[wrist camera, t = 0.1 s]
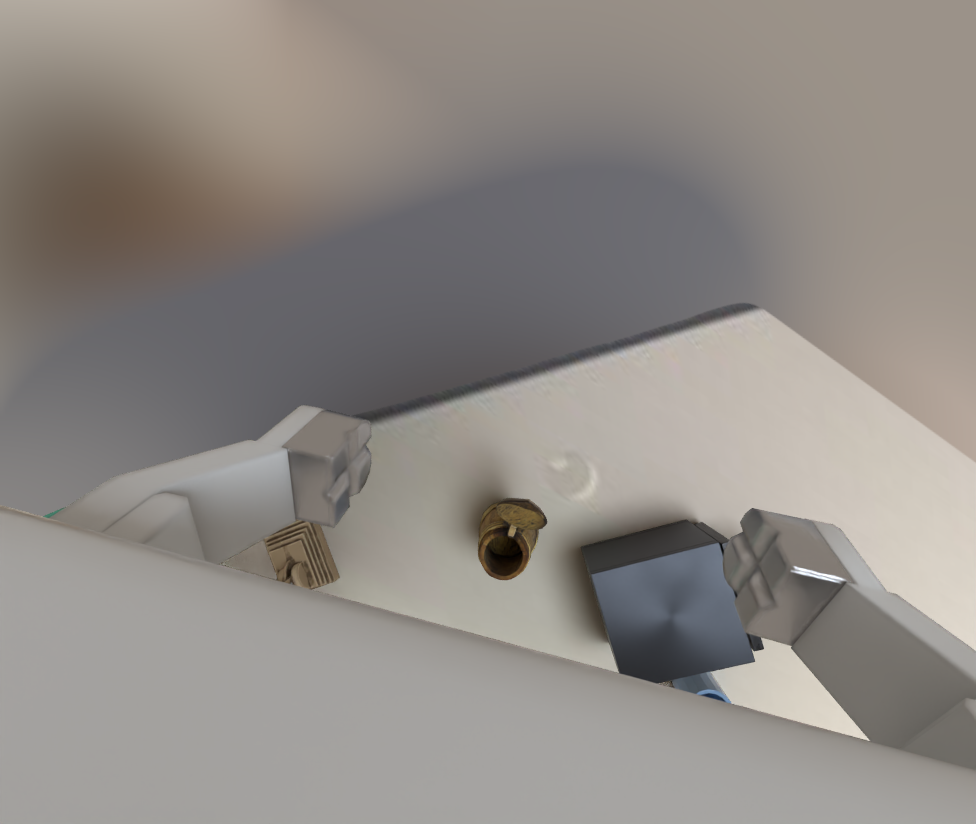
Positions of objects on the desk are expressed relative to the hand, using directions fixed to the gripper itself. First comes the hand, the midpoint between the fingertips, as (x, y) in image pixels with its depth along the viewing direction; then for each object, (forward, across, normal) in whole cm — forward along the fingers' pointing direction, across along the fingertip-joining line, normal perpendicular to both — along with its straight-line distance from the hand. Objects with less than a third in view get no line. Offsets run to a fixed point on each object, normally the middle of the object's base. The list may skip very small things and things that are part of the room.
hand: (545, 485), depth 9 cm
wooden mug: (+41, 0, -39) cm, 57 cm away
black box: (+38, +21, -43) cm, 61 cm away
